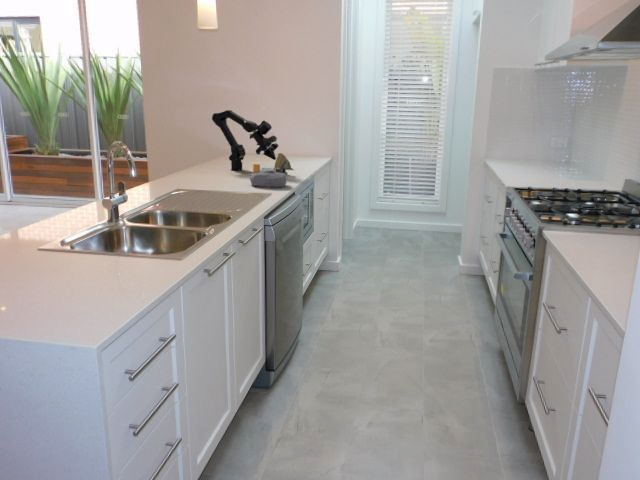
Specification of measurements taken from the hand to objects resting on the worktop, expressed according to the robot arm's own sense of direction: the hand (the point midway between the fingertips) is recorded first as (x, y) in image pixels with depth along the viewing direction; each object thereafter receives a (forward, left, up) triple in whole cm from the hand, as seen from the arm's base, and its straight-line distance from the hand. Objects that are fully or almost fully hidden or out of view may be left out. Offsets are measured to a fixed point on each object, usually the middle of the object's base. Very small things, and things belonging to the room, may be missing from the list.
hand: (275, 159), depth 343 cm
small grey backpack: (-4, -39, -10) cm, 41 cm away
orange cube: (-12, +9, -9) cm, 17 cm away
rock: (+5, +25, -9) cm, 27 cm away
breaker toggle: (+3, -2, -6) cm, 7 cm away
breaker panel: (-1, +3, -9) cm, 10 cm away
